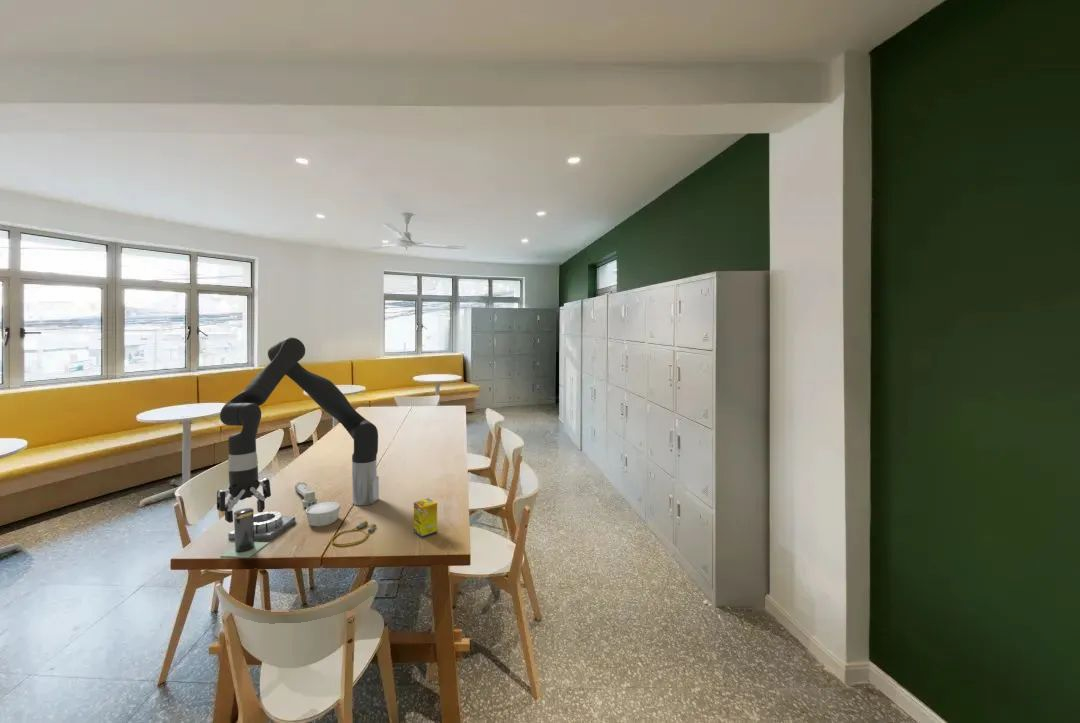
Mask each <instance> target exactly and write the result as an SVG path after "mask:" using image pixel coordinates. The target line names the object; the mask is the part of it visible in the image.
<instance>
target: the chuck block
mask: <svg viewBox="0 0 1080 723" xmlns="http://www.w3.org/2000/svg"><path fill="white" fill-rule="evenodd" d="M253 517H254V541H271V540H272V539H274V538H276V537H277V536H278V535H280V534H281V533H282V532H284V531H286V529H288V528H289V527H291V526H292V525H293V524H295V523H296V516H284V515H283V513H281V512H279V511H275V510H273V511H272V510H271V511H263V512H261V513H260V512H257V513H255V514H253ZM227 534H228V535H227V536H228V540H235V529H233V530H231V531H230V532H228V533H227Z"/></svg>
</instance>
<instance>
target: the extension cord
mask: <svg viewBox="0 0 1080 723" xmlns="http://www.w3.org/2000/svg"><path fill="white" fill-rule="evenodd" d="M368 523H369V522H368V520H365V521H361V522H359V524H357V525H356V527H355V528H352V529H347V530H344V531H340V532H339V533H337V534H335V535H334V536H332V538H331V544H332V545H334V546H336V547H348V546H349V547H350V546H354V544H355V545H357V543H358V544H361V543H363V542H365V541H367V539H368V535H369V534H370V533H372V532H373V531H374V530H375V528H376V527H377V524H376V523H371V524H370V525H369V527H368V529H367V532H365V531H363V530H361V529H362V528H364V527H365V526H367V525H368ZM355 531H358V532H361V533H363V534H365V536H364V537H363V538H362V539H360V540H358V541H353V542H348V543H336V542H333V541H334V539H335V538H336V537H338V536H340V535H342V534H344V533H348V532H355ZM360 542H361V543H360Z"/></svg>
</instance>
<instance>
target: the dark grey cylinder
mask: <svg viewBox="0 0 1080 723" xmlns="http://www.w3.org/2000/svg"><path fill="white" fill-rule="evenodd" d="M253 515H254V509H253V508H252V507H251V508H250V507H247V508H240V509H238V510H236V511H234V512H233V525H234V526H233V527H234V530H235V539H234V546H235V551H236V552H246V551H249V550H251V549H253V548H254V547H255V544H254V542H255V540H254V517H253Z"/></svg>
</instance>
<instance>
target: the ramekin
mask: <svg viewBox="0 0 1080 723" xmlns="http://www.w3.org/2000/svg"><path fill="white" fill-rule="evenodd" d="M340 509H341V504H340V503H338V502H335V501H322V502H319V503H318V502H317V504H314V505H312V506H310V507H308V508H305V515H306V518H307V523H308V524H309V525H310V526H312V527H324V526H329V525H331V524H333V523H335V522H336V521H337V520H338V518H339V515H340V514H339V513H340Z"/></svg>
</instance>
